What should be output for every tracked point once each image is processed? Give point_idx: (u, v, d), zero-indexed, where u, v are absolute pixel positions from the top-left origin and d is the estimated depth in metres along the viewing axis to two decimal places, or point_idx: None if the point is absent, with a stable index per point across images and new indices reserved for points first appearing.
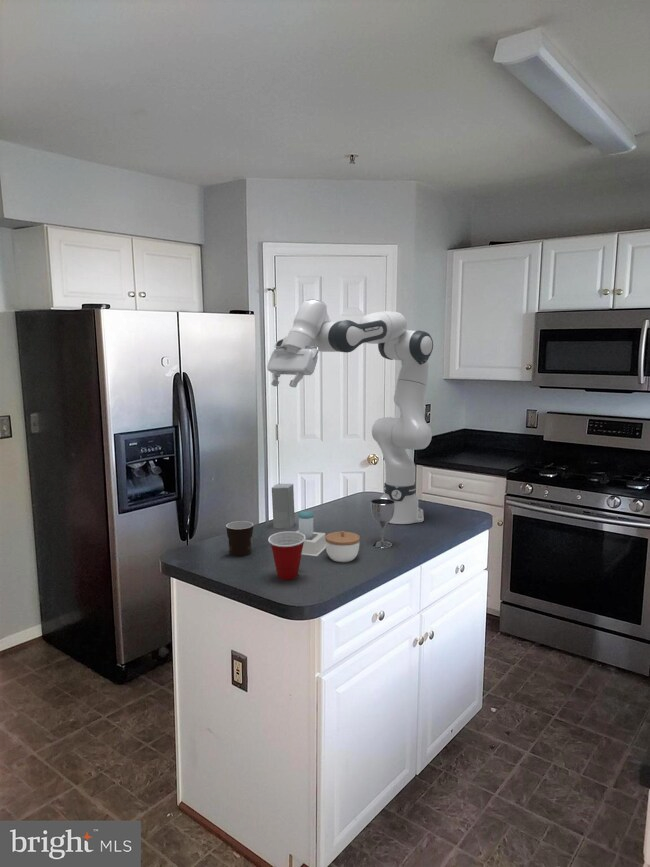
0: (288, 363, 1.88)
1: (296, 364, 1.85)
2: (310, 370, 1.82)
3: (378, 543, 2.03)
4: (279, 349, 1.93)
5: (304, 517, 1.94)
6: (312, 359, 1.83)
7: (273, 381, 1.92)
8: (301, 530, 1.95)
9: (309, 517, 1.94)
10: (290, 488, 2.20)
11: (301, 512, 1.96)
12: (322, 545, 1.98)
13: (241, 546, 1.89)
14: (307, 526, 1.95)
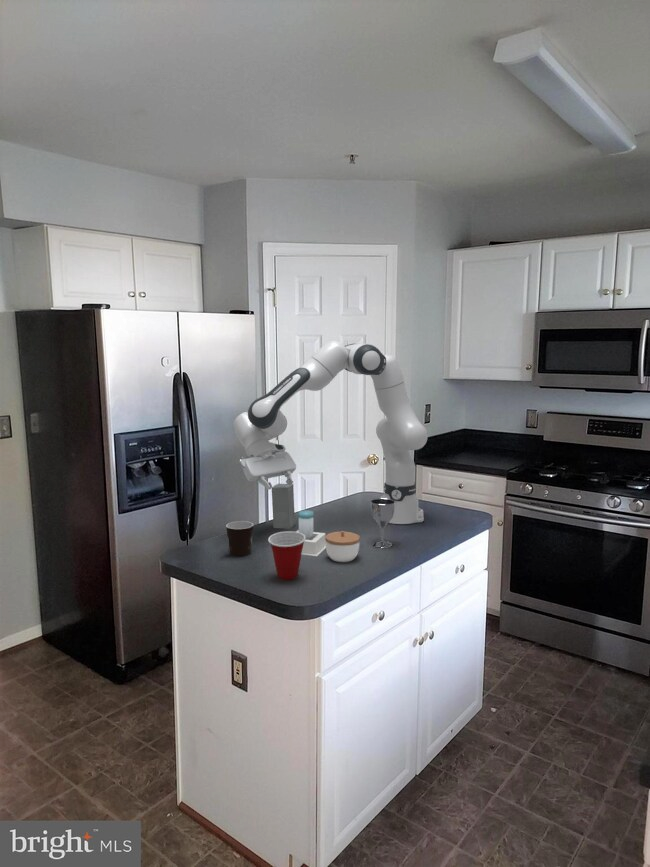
0: None
1: None
2: (249, 475, 1.99)
3: (378, 543, 2.03)
4: None
5: (304, 517, 1.94)
6: (244, 469, 2.01)
7: None
8: (301, 530, 1.95)
9: (309, 517, 1.94)
10: (290, 488, 2.20)
11: (301, 512, 1.96)
12: (322, 545, 1.98)
13: (241, 546, 1.89)
14: (307, 526, 1.95)
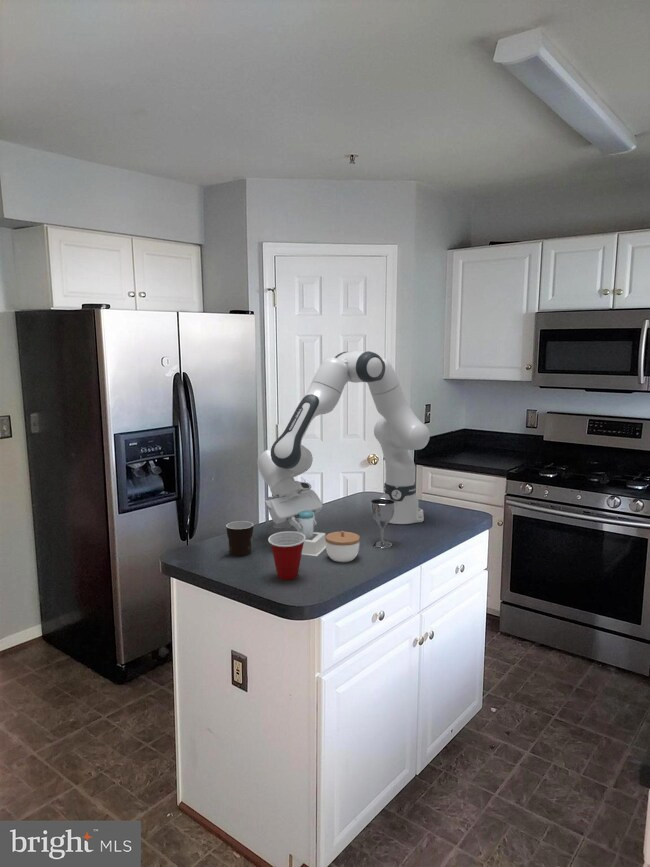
0: None
1: None
2: (275, 518, 1.92)
3: (378, 543, 2.03)
4: None
5: (304, 517, 1.94)
6: (270, 510, 1.93)
7: None
8: (301, 530, 1.95)
9: (309, 517, 1.94)
10: None
11: (301, 512, 1.96)
12: (322, 545, 1.98)
13: (241, 546, 1.89)
14: (307, 526, 1.95)
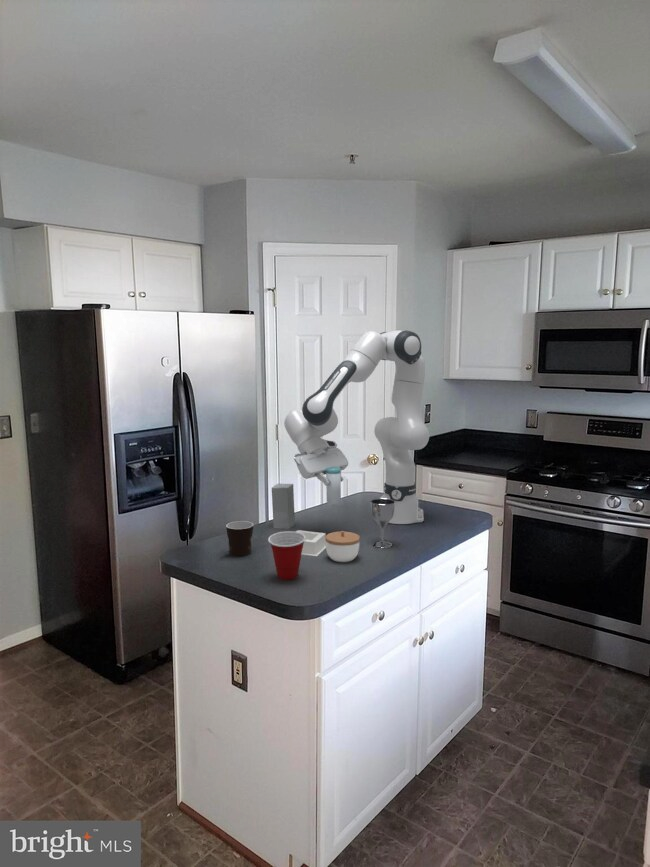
0: None
1: None
2: (305, 473, 1.99)
3: (378, 543, 2.03)
4: None
5: (332, 472, 2.01)
6: (299, 466, 2.00)
7: None
8: (329, 485, 2.02)
9: (337, 472, 2.01)
10: (290, 488, 2.20)
11: (329, 468, 2.03)
12: (322, 545, 1.98)
13: (241, 546, 1.89)
14: (335, 481, 2.02)
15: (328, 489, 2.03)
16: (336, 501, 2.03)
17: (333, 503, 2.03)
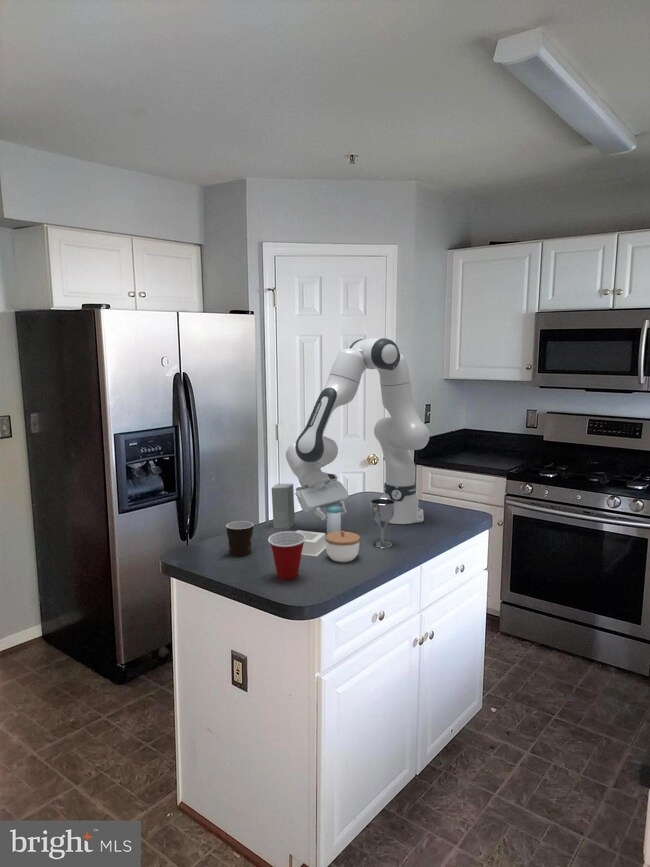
0: None
1: None
2: (305, 507, 2.01)
3: (378, 543, 2.03)
4: None
5: (332, 511, 2.04)
6: (300, 500, 2.03)
7: None
8: (330, 524, 2.05)
9: (337, 511, 2.04)
10: (290, 488, 2.20)
11: (329, 507, 2.05)
12: (322, 545, 1.98)
13: (241, 546, 1.89)
14: (335, 520, 2.04)
15: (328, 528, 2.05)
16: None
17: None
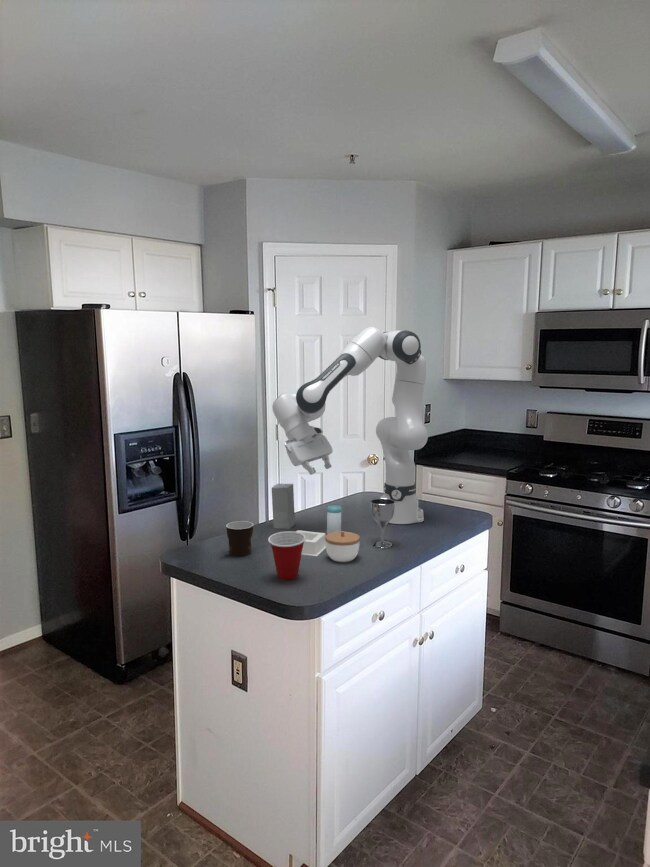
0: None
1: None
2: (295, 461, 2.00)
3: (378, 543, 2.03)
4: None
5: (333, 511, 2.04)
6: (290, 453, 2.02)
7: None
8: (330, 524, 2.05)
9: (337, 511, 2.04)
10: (290, 488, 2.20)
11: (330, 507, 2.05)
12: (322, 545, 1.98)
13: (241, 546, 1.89)
14: (336, 520, 2.04)
15: (328, 528, 2.05)
16: None
17: None
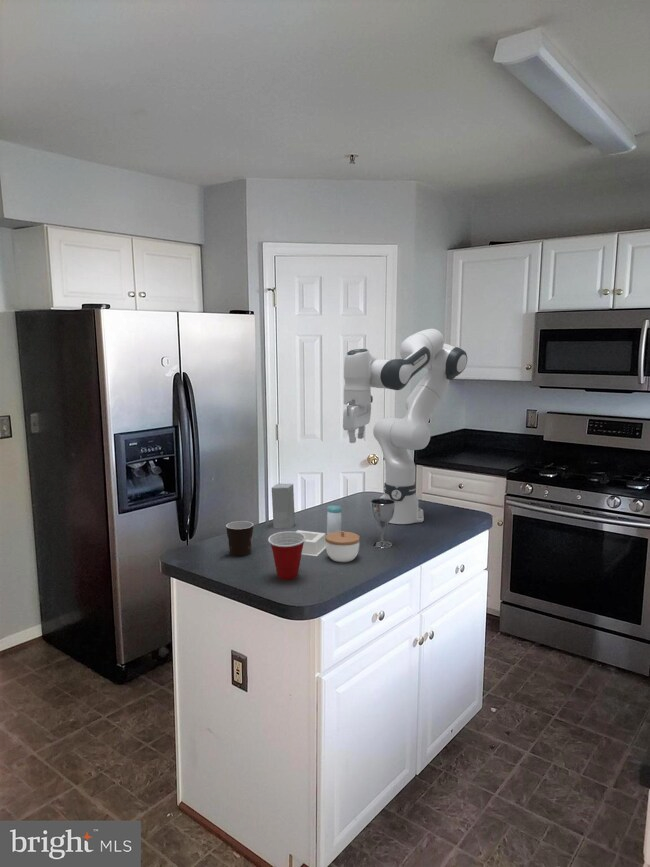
0: None
1: None
2: (348, 426, 1.91)
3: (378, 543, 2.03)
4: None
5: (333, 511, 2.04)
6: (347, 416, 1.91)
7: None
8: (330, 524, 2.05)
9: (337, 511, 2.04)
10: (290, 488, 2.20)
11: (330, 507, 2.05)
12: (322, 545, 1.98)
13: (241, 546, 1.89)
14: (336, 520, 2.04)
15: (328, 527, 2.05)
16: None
17: None
